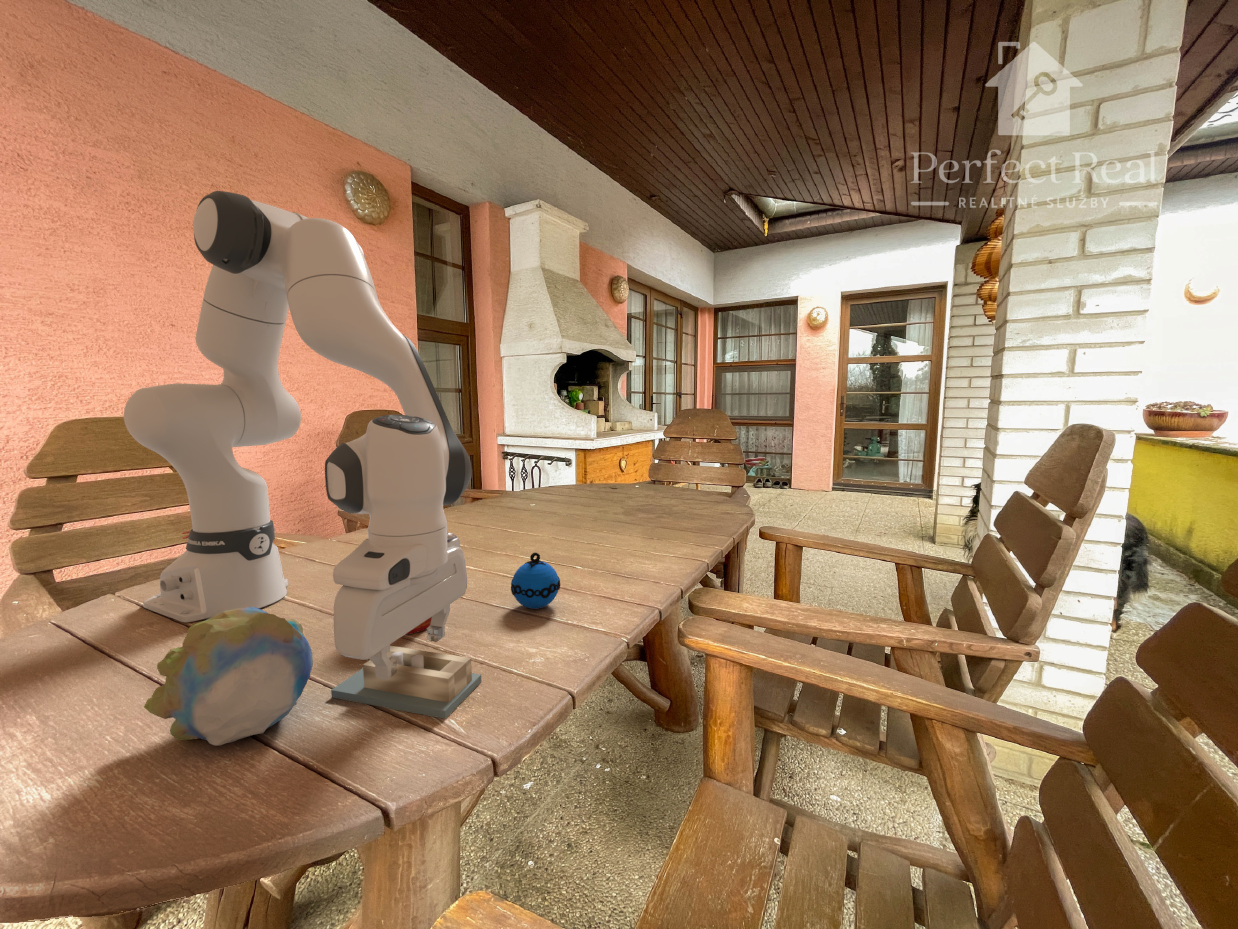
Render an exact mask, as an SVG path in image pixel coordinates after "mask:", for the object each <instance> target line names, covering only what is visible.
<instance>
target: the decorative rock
mask: <svg viewBox="0 0 1238 929" xmlns="http://www.w3.org/2000/svg"><path fill="white" fill-rule="evenodd" d="M303 629H304V628H303V625H302V623H300V622H298V621H297V620H295V619H292V618H291V619H286V618H284V617H279V616H277V615H276V614H273V613H268V612H267V611H265V610H263V609H261V608H255V607H247V608H237V609H232V610H227V611H224V612H221V613H219V614H217V615H215V616H213V617H210V618H206V620H205V619H204V620H203V621H199V622H197V623H194V624H192V625H191V626H190V627H188V629H187V631H186V635H185V637H184V639H183V641H182V645H181V646H179V647H173V648H170V649H169V651H168V652H167V653H166V655H165V656H164V658H163V659H161V660H160V661H159V662H158V663H157V666H156V669H157V670H158V673H159V675H160V676H162V677H165V683H164V684H162V685H160V686H158V687H156V688H155V690H154V692H153V693H152V695H151V697H150V698H148V699H146V702H145V704H144V706H143V708H145V709H146V711H147V712H148V713H149V714H151V715H154V716H155V717H159V718H161V719H164V720H168V719H172V718H173V719H175V720H174V721H173V722H172V724H171V725H170V729H169V733H170V735H171V737H173V738H175V739H177V740H179V741H181V740H186V741H189V740H198V739H202V740H204V741H207V742H208V743H209V744H210V745H212V746H215V747H216V746H222V745H225V744H227V743H233V742H236V741H238V740H241V739H245V738H247V737H251V736H253V735H254V736H255V735H258V734H259V735H261V734H263V733H264V732H266V730H267V729H269V728H270V727H272V726H273V725H275V724H276V723H278V722H279V721H281V720H282V719H284V718H285V717H287V715H289V713H291V711H292V710H293V708H294V707H295V706H297V702H298V700H299V698H300V697H301V695H302V693H303V692H304V689H305V687H306V685H307V683H308V681H309V679H310V677H311V674H312V673H311V672H312V669H313V665H314V659H313V650H312V648H311V645H310V642H309V640H308V639H307V638H306V637H305V636H304V630H303ZM264 734H265V733H264Z"/></svg>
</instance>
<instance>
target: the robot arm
mask: <svg viewBox="0 0 1238 929" xmlns="http://www.w3.org/2000/svg"><path fill="white" fill-rule="evenodd" d="M192 220H193V222H192V224H193V225H192V228H193V239H194V244H195V246H196V249H197V250H198V252H199V253H200V254H201V256H202V257H203V258H204V260H205V261H207V263H210V264H211V265H212V266H211V269H210V272H209V275H208V278H207V282H206V284H205V288H204V293H203V298H202V303H201V308H200V314H199V318H198V323H197V328H196V334H195V336H194V337H195V344H196V346H197V348H198V350H199V352H200V354H202V355H203V356H204V358H206V359H207V360H209V361H210V362H211V363H213V364H214V365H216V366H218V367H219V368H221V369H222V370H223V379H222V381H221V383H220V384H207V383H206V384H205V383H203V384H202V383H197V384H196V383H169V384H161V385H154V386H153V385H152V386H148V387H141V388H138V389H137V390H136V391H135V392H134V393H132V395H131V396H130V397H129V398H128V399H127V402H126V403H125V406H124V411H123V422H124V426H125V428H126V430H127V432H128V433H129V434H130V436H132V438H133V439H134V440H135V441H136V442H137V443H138V444H140V445H141V446H143V447H145V449H148V450H151V451H152V452H154V453H156V454H158V455H159V456H161V457H162V458H163V459H164V460H166V462H168V463H169V464H170V465H171V466H172V467H173V468H174V470H175V471H176V472H177V474H178V475H179V477H180V479H181V480H182V483H183V484H184V487H185V491H186V496H187V499H188V505H189V512H190V518H191V519H190V520H191V526H192V527H191V529H190V530H189V531H184V532H182V533H181V534H182V535H185V536H183V537H182V540H185V539H186V540H187V541H186V545H185V551H184V552H183V553H181V555H179V556H178V557H177V558H176V559H175V560H174V561H173V562H171V563H170V564H169V565H168V566H166V567H165V568H164V569H163V570H162V571H161V573H160V577H159V589H160V592H159V593H158V594H155V595H153V596H151V597H149V598H147V599H146V600H144V601H143V604H142V608H144V609H147V610H149V611H151V612H153V613H154V612H155V613H156V614H160V615H161V616H162V615H163V616H165V617H168V618H171V619H173V620H176V621H179V622H181V623H191V622H197V621H201V620H205V619H206V620H207V619H209V618H211V617H213V616H215V615H217V614H219V613H221V612H224V611H227V610H232V609H237V608H247V607H255V608H258V609H261V608H264V607H267V606H269V605H272V604H274V603H276V602H278V601H280V600H282V599H283V598H284V597H285V596H286V595H287V594H288V590H287V588H286V587H288V585H289V579H288V578H287V577H286V578H285V577H284V573H283V566H282V562H281V557H280V553H279V548H278V546H277V545H276V544H275V543H274V541H275V539H276V534H275V532H276V527H275V525H274V521H273V520H272V519H271V512H270V511H271V510H270V500H269V489H268V483H267V481H266V479H264V478H263V476H262V475H260V474H259V473H257V472H256V471H253V470H251V469H248V468H245V467H242V466H241V465H240V464H239V463H238V461H237V459H236V457H235V455H234V452H233V448H240V447H241V448H243V447H252V446H253V447H255V446H265V445H270V444H274V443H279V442H281V441H284V440H287V439H290V438H292V437H294V436H295V435H296V434H297V432H298V430H299V428H300V425H301V423H302V422H301V421H302V411H301V409H300V408H301V407H300V406H299V403H298V402H297V400H296V398H294V396H293V395H291V393H289V391H287V390H286V388H285V387H284V385H283V383H282V380H281V378H280V372H279V357H280V351H281V345H282V342H283V337H284V331H285V327H286V323H287V319H288V315H289V314H288V313H289V311H290V317H291V319H292V321H293V325H294V327H295V329H296V331H297V334H298V336H299V338H301V341H303V343H305V345H307V346H308V347H309V348H310V349H311V350H312V351H314V352H315V353H317V354H318V355H320V356H321V357H323V358H325V359H327V360H329V361H331V362H333V363H336V364H338V365H342V366H345V367H347V368H351V369H354V370H356V371H359V372H361V373H363V374H366V375H369V376H371V377H373V378H374V379H377V380H378V381H380V382H382V383H384V384H385V385H386V386H388V388H390V389H391V391H393V392H394V393H395V395H396V397H397V398H398V401H399V404H400V406H401V408H402V410H403V413H404V414H387V415H380V416H378V417H374V418H372V419H371V420H370V421H369V422H368V425H367V428H366V432H365V433H364V434H363V435H361V436H359V437H358V438H356V439H353V440H351V441H348V442H342V443H340V444H339V445H338V446H337V447H335V448H334V450H333V451H332V452H331V453H330V454H329V455H328V457H327V458H326V459H325V462H324V478H325V491H326V496H327V499H328V500H329V501H330V502H331V503H332V504H334V505H335V506H336V507H337V508H339V509H340V510H342V511H343V512H346V513H348V514H357V515H366V514H368V515H369V523H368V527H367V538H366V539H364V540H362V542H361V543H360V544H359V545H358V546H357V547H356V548H355V549H354V550H353V551H352V552H350V553H349V554H348V555H347V556H346V557H344V558H343V559H342V560H340V561H339V562H338V563H337V564H336V565H335V566H334V567H333V571H332V579H333V582H334V583H335V584H336V585H340V586H341V587H340V588H339V589H338V591H337V593H336V595H335V598H334V601H333V602H334V603H333V637H334V645H335V649H336V651H337V653H339V654H340V655H341V656H343V657H346V658H350V659H355V660H364V661H366V660H367V661H368V660H371V661H372V662H373V664H374V665H375V674H376V677H377V678H378V679H381V680H388V679H389V678H391V677H392V676H393V675H394V674H396V672H397V669H396V666H397V660H392V659H391V660H390V659H389V657H388V656H387V653H388V652H390V646H391V645H392V644H393V643H395V642H396V641H397V640H399V639H400V638H402V637H403V636H405V635H407V634H406V633H408V632H409V631H411V630H412V629H414V628H415V627H417V626H418V625H420V624H421V623H423V622H424V621H426V620H427V619H429V618H430V617H432V619H431V624H430V626H429V627H428V628H427V629H426V640H427V641H429V642H434V643H438V642H439V641H440V640H443V638H444V637H446V636H445V635H446V629H445V628H446V624H447V620H448V618H449V614H450V612H451V604H454V602H455V601H457V600H459V599H460V598H462V597H463V596H464V595H465V594H466V591H467V588H468V574H467V565H466V558H465V553H464V551H463V549H462V548H461V540H460V538H459V537H458V536H457V534H455V533H453V532H448V522H447V517H446V514H445V511H444V506H450V505H453V504H455V503H456V501H458V500H459V499H460V498H461V497H462V496H463V494H464V493H465V491H466V490H467V488H468V486H469V484H470V483H471V480H472V475H473V469H472V462H471V460H470V456H469V454H468V452H467V450H466V449H465V447H464V445H463V444H462V442H461V440H460V439H459V437H458V436H457V434H456V433H455V431H454V429H453V427H452V426H451V423H450V421H449V418H448V416H447V414H446V410H445V409H444V406H443V405H442V402H441V400H440V398H439V396H438V393H437V390H436V388H435V385H434V384H433V382H432V379H431V377H430V375H429V372H428V371H427V368H426V366H425V363H424V361H423V359H422V357H421V355H420V353H419V351H418V349H417V347H416V345H415V344H414V343H413V341H412V340H411V339H410V338H409V337H408V336H406V335H405V334H403V333H402V332H401V331H400V330H399V329H398V328H397V326H395V325H394V323H393V322H392V320H390V318H389V316H388V315H387V314H386V312H385V311H384V308H383V307H382V305H381V303H380V302H381V301H380V300H379V297H378V294H377V290H376V286H375V283H374V279H373V276H372V274H371V270H370V268H369V265H368V262H367V260H366V257H365V253H364V250H363V248H362V247H361V245H360V244H359V243H358V241H357V240H356V238H355V237H354V235H353V234H352V233H351V231H350V230H348V229H347V228H346V227H344V226H343V225H342V224H341V223H338V222H336V221H334V220H330V219H327V218H323V217H307V216H305V215H303V214H300V213H298V212H295V211H289V210H286V209H284V208H281V207H278V206H275V205H272V204H269V203H264V202H261V201H257V200H253V199H250V198H249V197H248V196H246V195H244V194H241V193H237V192H230V191H226V190H224V191H223V190H215V191H212V192H210V193H208V194H207V195H205V196H203V197H202V198H201V200H200V201H199V203H198V204H197V208H196V211H195V213H194V216H193V219H192ZM186 534H188V535H186Z"/></svg>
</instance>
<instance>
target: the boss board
mask: <svg viewBox="0 0 1238 929" xmlns="http://www.w3.org/2000/svg"><path fill="white" fill-rule="evenodd" d="M391 659H392V660H397V664H398V665H403V652H395V653H392V654H391ZM411 662H412V667H417V668H423V669H424V660H423V655H415V656H413V657H412V658H411ZM480 683H483V682H482V674H481V673H473V672H472V681H471V682H470V683H469V684H468V685H467V686H466V687H465V688H463V689H462V690H461V691H460V692H459V693H458V694H457V695H456V696H455V697H454V698H453V699H452V700H451V701H450V702H449V703H448V702H443V701H437V700H432V699H426V698H420V697H415V696H409V695H404V694H398V693H392V692H387V691H381V690H376V689H370V688H365V687H364V674H363V667H362V668H361V669H359V670H358V671H357V672H355V673H354V674H352V675H351V676H349V677H348V678H346V679H345V680H344V681H342V682H340V683H339V684H338V685H335V687H333V688H332V689H331V690H330V694H331V695H330V696H331V698H334V699H338V700H343V701H349V702H354V703H357V704H359V703H360V704H364V705H371V706H375V707H379V708H380V707H381V708H385V709H391V710H395V711H402V712H407V713H411V714H412V713H413V714H417V715H423V716H429V717H433V718H438V719H443V720H446V719H447V718H448V717H449V716H450V715H451V714H452V713H453V712H454V711H455V710H456V709H457V708H458V707H459V706H460V705H461V703H462V702H463V701H464V700H466V699H467V697H469V695H470V694H471V693H472V692H473V691H474V690H475V689H476V688H477V687H478V686H479V685H480Z"/></svg>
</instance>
